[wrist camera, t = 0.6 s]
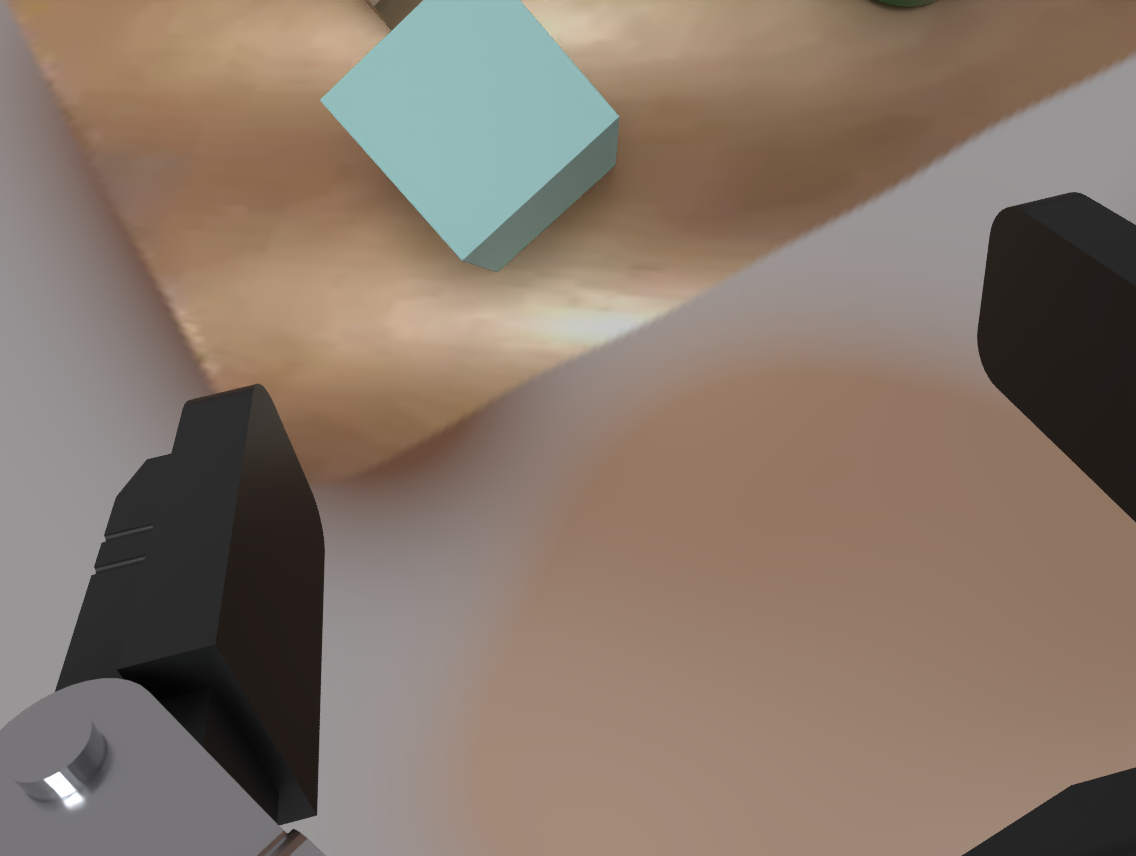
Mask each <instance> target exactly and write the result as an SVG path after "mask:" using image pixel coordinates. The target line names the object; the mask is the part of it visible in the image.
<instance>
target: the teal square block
mask: <svg viewBox="0 0 1136 856" xmlns="http://www.w3.org/2000/svg"><path fill="white" fill-rule="evenodd" d="M320 101H321V102H322V103H323V104H324V105H325V106H326V107H327V109H328V110H329V111H330V112H331V113H332V114H333V115H334V116H335V118H336V119H337V120H338V121H339V122H340V123H341V124H342V126H343V127H344V128H345V129H346V130H347V131H348V132H349V133H350V135H351V136H352V137H353V138H354V139H355V140H356V141H357V143H358V144H359V145H360V146H361V147H362V148H363V149H364V150H365V152H366V153H367V154H368V155H369V156H370V157H371V158H372V159H373V161H374V162H375V163H376V164H377V165H378V166H379V167H380V169H381V170H382V171H383V172H384V173H385V174H386V175H387V176H388V178H389V179H390V180H391V181H392V182H393V183H394V184H395V185H396V187H397V188H398V189H399V190H400V191H401V192H402V193H403V195H404V196H405V197H406V198H407V199H408V200H409V201H410V202H411V204H412V205H413V206H414V207H415V208H416V209H417V210H418V212H419V213H420V214H421V215H422V216H423V217H424V218H425V219H426V221H427V222H428V223H429V224H430V225H431V226H432V227H433V228H434V230H435V231H436V232H437V233H438V234H439V235H440V236H441V238H442V239H443V240H444V241H445V242H446V243H447V244H448V245H449V247H450V248H451V249H452V250H453V251H454V252H455V253H456V254H457V256H458V257H459V258H460V259H461V260H462V261H464V262H467V263H470V264H474V265H477V266H480V267H483V268H486V269H489V270H492V271H495V272H499V271H500V270H501V269H502V268H503V267H504V266H505V265H506V264H507V263H508V262H510V261H511V260H512V259H513V258H514V257H515V256H516V255H517V254H518V253H519V252H521V251H522V250H523V249H524V248H525V247H526V246H527V245H528V244H529V243H530V242H531V241H533V240H534V239H535V238H536V237H537V236H538V235H539V234H540V233H541V232H542V231H544V230H545V229H546V228H547V227H548V226H549V225H550V224H551V223H552V222H553V221H555V220H556V219H557V218H558V217H559V216H560V215H561V214H562V213H563V212H564V211H566V210H567V209H568V208H569V207H570V206H571V205H572V204H573V203H574V202H575V201H577V200H578V199H579V198H580V197H581V196H582V195H583V194H584V193H585V192H586V191H588V190H589V189H590V188H591V187H592V186H593V185H594V184H595V183H596V182H597V181H599V180H600V179H601V178H602V177H603V176H604V175H605V174H606V173H607V172H608V171H610V170H611V169H612V168H613V167H614V166H615V165H616V154H617V141H618V128H619V115H618V114H617V113H616V112H615V111H614V110H613V108H612V107H611V106H610V105H609V104H608V103H607V101H606V100H605V99H604V98H603V97H602V96H601V94H600V93H599V92H598V91H597V90H596V89H595V87H594V86H593V85H592V84H591V83H590V82H589V80H588V79H587V78H586V77H585V76H584V75H583V73H582V72H581V71H580V70H579V69H578V68H577V66H576V65H575V64H574V63H573V62H572V61H571V59H570V58H569V57H568V56H567V55H566V54H565V52H564V51H563V50H562V49H561V48H560V47H559V45H558V44H557V43H556V42H555V41H554V40H553V38H552V37H551V36H550V35H549V34H548V33H547V31H546V30H545V29H544V28H543V27H542V26H541V24H540V23H539V22H538V21H537V20H536V19H535V17H534V16H533V15H532V14H531V13H530V12H529V10H528V9H527V8H526V7H525V6H524V4H523V3H522V2H521V1H520V0H423V1H422V2H421V3H420V4H419V5H418V6H417V7H416V8H415V9H414V10H413V11H412V12H411V13H410V14H408V15H407V16H406V17H405V18H404V19H403V20H402V21H401V22H400V23H399V24H398V25H397V26H396V27H395V28H394V29H393V30H392V31H391V32H390V33H389V34H388V35H387V36H386V37H385V38H384V39H383V40H382V41H381V42H380V43H378V44H377V45H376V46H375V47H374V48H373V49H372V50H371V51H370V52H369V53H368V54H367V55H366V56H365V57H364V58H363V59H362V60H361V61H360V62H359V63H358V64H357V65H356V66H355V67H354V68H353V69H352V70H351V71H350V72H349V73H347V74H346V75H345V76H344V77H343V78H342V79H341V80H340V81H339V82H338V83H337V84H336V85H335V86H334V87H333V88H332V89H331V90H330V91H329V92H328V93H327V94H326V95H325V96H324V97H323V98H322V99H321V100H320Z"/></svg>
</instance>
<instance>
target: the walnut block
mask: <svg viewBox="0 0 1136 856" xmlns="http://www.w3.org/2000/svg"><path fill="white" fill-rule="evenodd" d="M365 1H366V2H367V3H368V4H369V5H370V6H371V8H372V9H373V10H374V11H375V12H376V13H377V14H378V15H379V17H380V18H381V19H382V20H383V21H384V22H385V23H386V24H387V26H388V27H389V28H390V29H391V30H393V29H394V28H395V27H396V26H397V25H398V24H399V23H400V22H401V21H402V20H403V19H404V18H405V17H406V16H407V15H408V14H410V13H411V12H412V11H413V10H414V9H415V8H416V7H417V6H418V5H419V4H420V3H421V2H422V1H423V0H365Z"/></svg>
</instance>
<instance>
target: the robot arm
mask: <svg viewBox="0 0 1136 856" xmlns="http://www.w3.org/2000/svg"><path fill="white" fill-rule="evenodd" d="M989 238H990V239H989V245H988V253H987V261H986V270H985V277H984V285H983V292H982V300H981V309H980V316H979V323H978V333H977V340H978V341H977V342H978V350H979V355H980V358H981V362H982V365H983V367H984V370H985V372H986V373H987V375H988V377H989V379H990V380H991V382H992V383H993V384H994V385H995V386H996V388H998V389H999V390H1000V391H1001V392H1002V393H1003V394H1004V395H1005V396H1006V397H1007V398H1008V399H1009V400H1010V401H1011V402H1012V403H1013V404H1014V405H1015V406H1016V407H1017V408H1018V409H1019V410H1020V411H1021V412H1022V413H1023V414H1024V415H1025V416H1027V418H1028V419H1030V420H1031V421H1032V422H1033V423H1034V424H1035V425H1036V426H1037V427H1038V428H1039V429H1040V430H1041V431H1042V432H1043V433H1044V434H1045V435H1046V436H1047V437H1048V438H1049V439H1050V440H1051V441H1052V442H1053V443H1054V444H1055V445H1056V446H1057V447H1058V448H1059V449H1061V450H1062V451H1063V452H1064V453H1065V454H1066V455H1067V456H1068V457H1069V458H1070V459H1071V460H1072V461H1073V462H1074V463H1075V464H1076V465H1077V466H1078V467H1079V468H1080V469H1081V470H1082V471H1083V472H1084V473H1085V474H1086V475H1087V476H1088V477H1089V478H1091V479H1092V480H1093V481H1094V482H1095V483H1096V484H1097V485H1098V486H1099V487H1100V488H1101V489H1102V490H1103V491H1104V492H1105V493H1106V494H1107V495H1108V496H1109V497H1110V498H1111V499H1112V500H1113V501H1114V502H1115V503H1116V504H1117V505H1118V506H1119V507H1120V508H1122V509H1123V510H1124V511H1125V512H1126V513H1127V514H1128V515H1129V516H1130V517H1131V518H1132V519H1133V520H1134V521H1135V522H1136V225H1135V224H1133V223H1131V222H1130V221H1128V220H1126V219H1125V218H1123V217H1121V216H1119V215H1118V214H1116V213H1114V212H1113V211H1111V210H1109V209H1108V208H1106V207H1104V206H1103V205H1101V204H1099V203H1097V202H1096V201H1094V200H1092V199H1091V198H1089V197H1087V196H1086V195H1083V194H1081V193H1076V192H1073V193H1067V194H1062V195H1058V196H1054V197H1050V198H1045V199H1041V200H1037V201H1033V202H1029V203H1025V204H1020V205H1016V206H1012V207H1008V208H1005V209H1003V210H1002V211H1001V212H999V214H998V215H997V216H996V218H995V220H994V222H993V224H992V227H991V232H990V237H989ZM104 536H105V539H106V542H103V543H102V544H101V547H100V550H99V553H98V556H97V559H96V563H95V566H94V568H95V570H96V574H95V575H92V576H91V579H90V582H89V585H88V588H87V591H86V595H85V598H84V601H83V604H82V607H81V610H80V614H79V617H78V620H77V623H76V626H75V629H74V633H73V636H72V639H71V642H70V646H69V649H68V652H67V655H66V658H65V661H64V665H63V668H62V671H61V674H60V677H59V680H58V684H57V687H56V690H55V692H54V693H52V694H50V695H48V696H47V697H45V698H43V699H41V700H39V701H37V702H36V703H34V704H33V705H31V706H30V707H28V708H27V709H25V710H24V711H22V712H21V713H20V714H19V715H17V716H16V717H15V718H14V719H12V720H11V721H10V722H9V723H8V724H6V726H4V727H3V728H2V729H1V730H0V856H325V855H324V854H323V853H322V852H321V851H320V850H319V849H318V848H317V847H316V846H315V845H314V844H313V843H312V842H311V841H309V839H308V838H306V837H305V836H304V835H303V834H301V833H300V832H298V831H297V830H295V829H293V830H291V832H289V833H286V832H285V831H284V830H283V829H282V828H281V827H279V825H283V824H286V823H290V822H294V821H298V820H301V819H305V818H309V817H312V816H316V815H317V798H318V763H319V729H320V727H319V726H320V694H321V660H322V659H321V658H322V627H323V592H324V591H323V590H324V558H325V548H324V536H323V529H322V524H321V519H320V516H319V511H318V508H317V505H316V502H315V499H314V496H313V493H312V491H311V489H310V486H309V484H308V482H307V479H306V477H305V475H304V472H303V470H302V468H301V466H300V463H299V461H298V459H297V456H296V454H295V452H294V449H293V447H292V445H291V442H290V440H289V438H288V435H287V433H286V431H285V429H284V426H283V424H282V422H281V419H280V417H279V415H278V412H277V410H276V408H275V405H274V403H273V401H272V399H271V397H270V395H269V393H268V392H267V391H266V389H265V388H264V387H263V386H262V385H260V384H255V385H251V386H246V387H242V388H238V389H234V390H230V391H225V392H221V393H217V394H213V395H209V396H204V397H200V398H196V399H192V400H188V401H187V402H186V403H185V404H184V407H183V410H182V414H181V418H180V422H179V426H178V430H177V434H176V438H175V442H174V446H173V449H172V453H171V454H168V455H164V456H160V457H155V458H151V459H147V460H146V461H145V462H144V464H143V465H142V466H141V467H140V469H139V470H138V471H137V472H136V473H135V475H134V476H133V477H132V478H131V480H130V481H129V482H128V483H127V484H126V486H125V487H124V488H123V489H122V491H121V492H120V493H119V494H118V495H117V497H116V499H115V502H114V505H113V509H112V512H111V515H110V518H109V521H108V524H107V528H106V531H105V534H104ZM962 856H1136V768H1132V769H1129V770H1125V771H1122V772H1118V773H1114V774H1111V775H1108V776H1104V777H1100V778H1096V779H1093V780H1090V781H1086V782H1082V783H1078V784H1075V785H1071V786H1070V787H1068V788H1066V789H1065V790H1063V791H1062V792H1060V793H1059V794H1057V795H1056V796H1054V797H1052V798H1051V799H1049V800H1048V801H1046V802H1045V803H1043V804H1042V805H1040V806H1038V807H1037V808H1035V809H1034V810H1032V811H1031V812H1029V813H1028V814H1026V815H1024V816H1023V817H1021V818H1020V819H1018V820H1017V821H1015V822H1014V823H1012V824H1011V825H1009V826H1007V827H1006V828H1004V829H1003V830H1001V831H1000V832H998V833H996V834H995V835H993V836H992V837H990V838H989V839H987V840H986V841H984V842H982V843H981V844H979V845H978V846H976V847H975V848H973V849H972V850H970V851H968V852H967V853H965V854H964V855H962Z"/></svg>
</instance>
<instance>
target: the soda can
mask: <svg viewBox="0 0 1136 856" xmlns="http://www.w3.org/2000/svg"><path fill="white" fill-rule="evenodd" d="M879 1H881V2H884V3H887V4H890V5H895V6H901V7H913V6H919V5H925V4H928V3H931V2H934V1H936V0H879Z"/></svg>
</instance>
